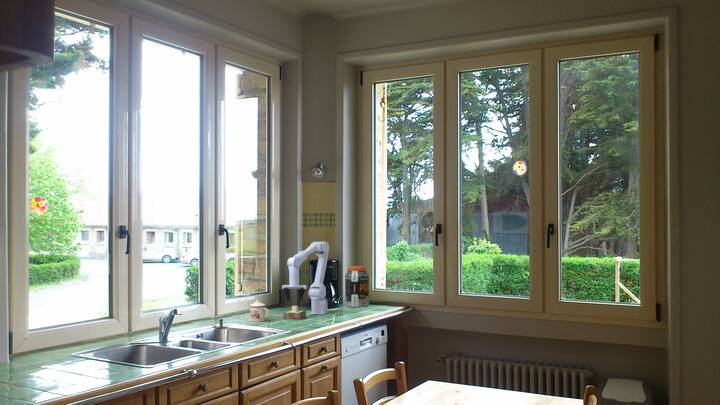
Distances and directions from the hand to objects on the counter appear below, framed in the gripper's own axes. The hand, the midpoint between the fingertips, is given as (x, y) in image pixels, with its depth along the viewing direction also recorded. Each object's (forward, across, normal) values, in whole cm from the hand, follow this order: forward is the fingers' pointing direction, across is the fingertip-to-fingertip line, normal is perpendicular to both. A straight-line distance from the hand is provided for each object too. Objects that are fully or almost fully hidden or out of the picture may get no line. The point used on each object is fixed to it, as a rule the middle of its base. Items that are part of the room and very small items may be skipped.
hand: (294, 301), depth 384 cm
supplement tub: (+10, +22, +57) cm, 62 cm away
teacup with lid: (+10, -16, -13) cm, 23 cm away
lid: (+7, 0, 0) cm, 7 cm away
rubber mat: (+10, -12, +6) cm, 17 cm away
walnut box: (+10, 0, 0) cm, 10 cm away
